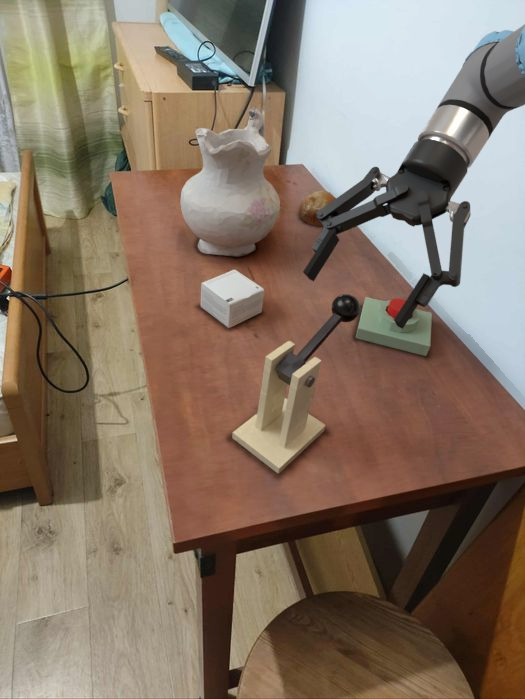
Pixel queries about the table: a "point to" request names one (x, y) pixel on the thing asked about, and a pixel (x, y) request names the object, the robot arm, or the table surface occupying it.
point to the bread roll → (314, 206)
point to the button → (395, 307)
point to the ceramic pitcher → (231, 190)
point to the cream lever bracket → (282, 413)
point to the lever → (320, 335)
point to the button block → (394, 328)
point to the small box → (231, 298)
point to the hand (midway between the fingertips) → (351, 299)
